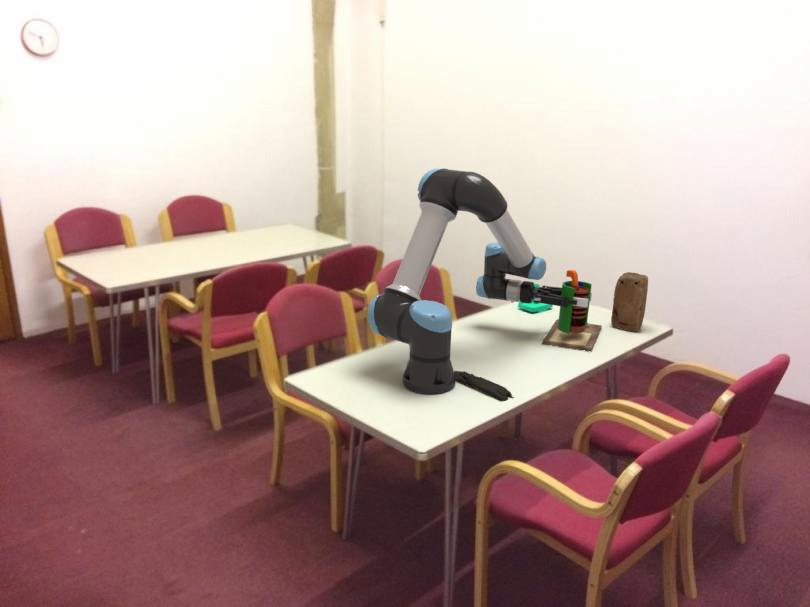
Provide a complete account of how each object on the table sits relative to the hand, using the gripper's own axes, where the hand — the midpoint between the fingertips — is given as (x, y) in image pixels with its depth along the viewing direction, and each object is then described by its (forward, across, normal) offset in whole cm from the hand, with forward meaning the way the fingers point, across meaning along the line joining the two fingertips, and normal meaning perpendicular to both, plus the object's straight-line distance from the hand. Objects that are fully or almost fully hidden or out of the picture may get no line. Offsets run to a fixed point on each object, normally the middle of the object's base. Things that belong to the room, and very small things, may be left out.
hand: (589, 300), depth 223 cm
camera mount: (-23, -30, -16) cm, 41 cm away
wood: (-22, +48, -16) cm, 55 cm away
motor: (-5, 0, -11) cm, 12 cm away
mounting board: (-5, -5, -15) cm, 17 cm away
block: (+11, -22, -16) cm, 29 cm away
